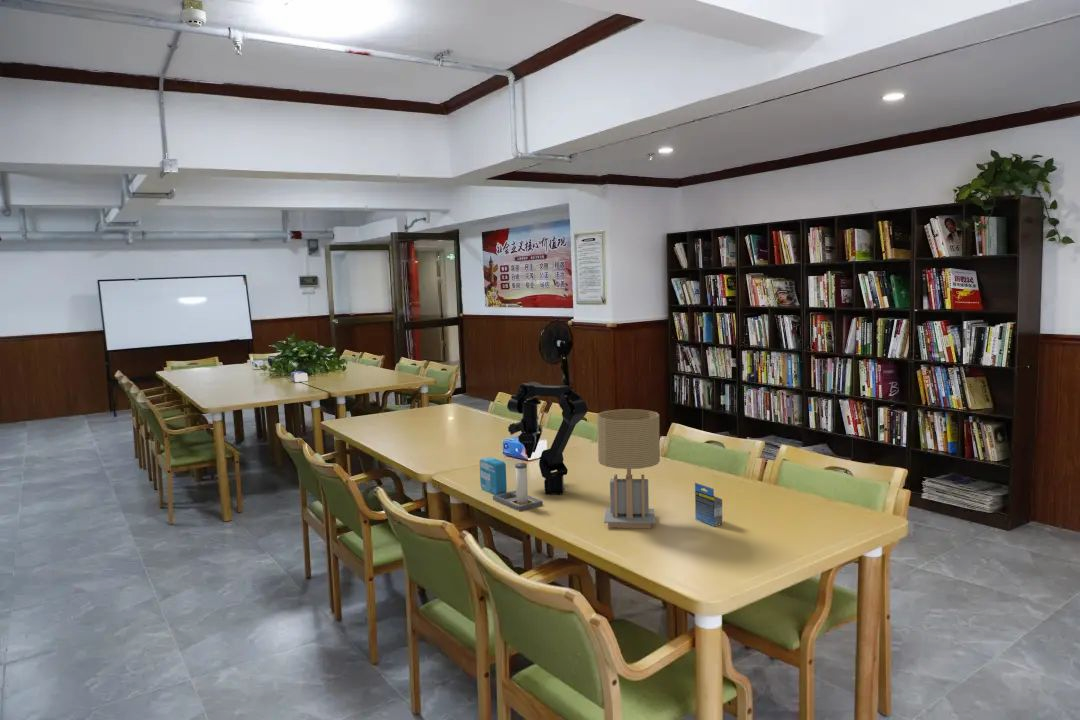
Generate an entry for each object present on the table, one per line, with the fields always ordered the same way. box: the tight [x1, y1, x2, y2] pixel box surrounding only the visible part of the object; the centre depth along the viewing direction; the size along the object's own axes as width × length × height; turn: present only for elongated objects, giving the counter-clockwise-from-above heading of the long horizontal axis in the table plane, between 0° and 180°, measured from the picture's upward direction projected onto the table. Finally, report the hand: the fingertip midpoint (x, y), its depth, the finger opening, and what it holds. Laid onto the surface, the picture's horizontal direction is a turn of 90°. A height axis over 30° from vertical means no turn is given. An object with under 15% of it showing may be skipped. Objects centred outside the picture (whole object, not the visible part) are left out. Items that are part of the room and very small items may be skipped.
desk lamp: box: [596, 408, 661, 529], centre depth 229 cm, size 20×20×35 cm
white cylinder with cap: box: [514, 462, 529, 505], centre depth 250 cm, size 4×4×15 cm
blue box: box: [479, 456, 508, 495], centre depth 269 cm, size 12×4×12 cm, turn 35°
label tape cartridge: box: [694, 482, 723, 527], centre depth 228 cm, size 9×4×12 cm, turn 30°
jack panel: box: [492, 490, 544, 512], centre depth 255 cm, size 10×17×2 cm, turn 36°
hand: (531, 455), depth 274 cm, fingers open, 9 cm apart
